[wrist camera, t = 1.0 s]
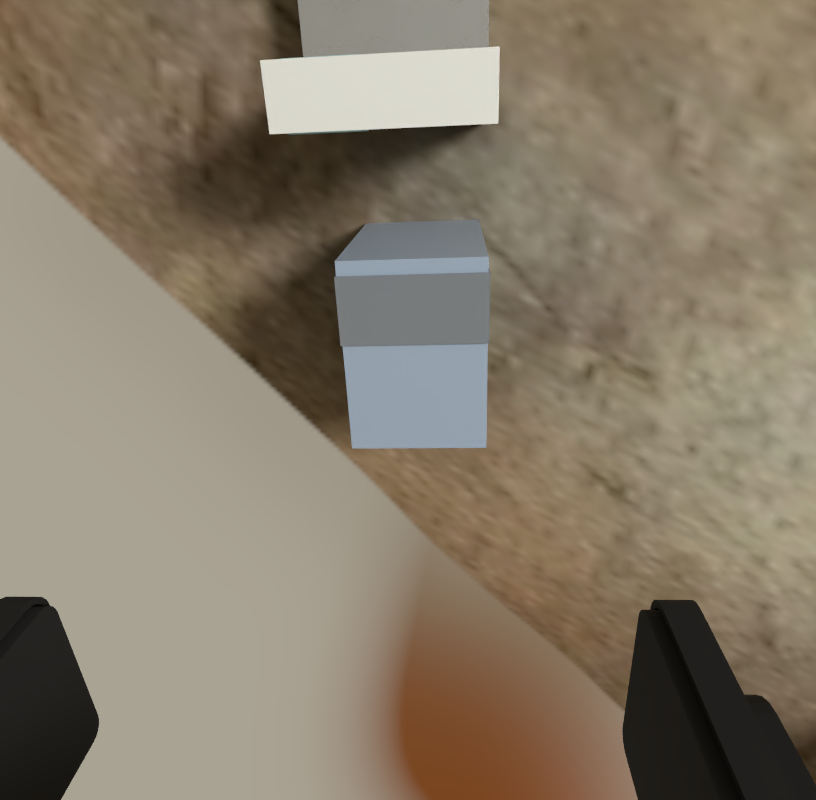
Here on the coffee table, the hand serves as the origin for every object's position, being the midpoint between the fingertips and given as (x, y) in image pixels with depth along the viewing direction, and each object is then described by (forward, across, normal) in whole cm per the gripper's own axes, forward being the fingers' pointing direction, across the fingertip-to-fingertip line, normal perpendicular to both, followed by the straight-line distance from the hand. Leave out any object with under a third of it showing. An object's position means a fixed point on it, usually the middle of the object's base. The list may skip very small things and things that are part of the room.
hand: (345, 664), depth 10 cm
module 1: (+19, 0, -9) cm, 21 cm away
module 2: (+21, 0, 0) cm, 21 cm away
